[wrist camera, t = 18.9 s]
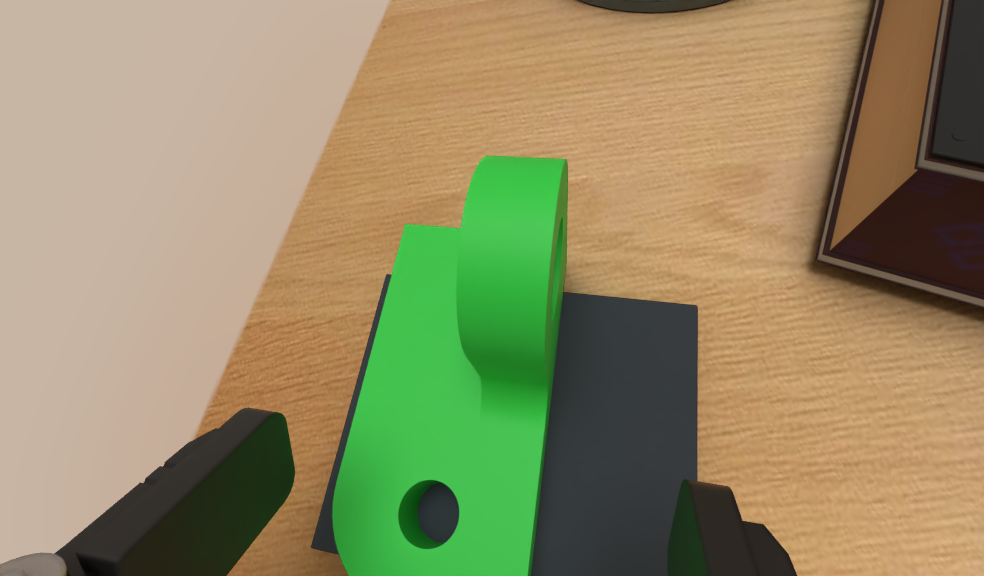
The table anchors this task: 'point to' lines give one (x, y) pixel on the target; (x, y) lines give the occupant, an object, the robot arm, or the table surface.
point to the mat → (594, 440)
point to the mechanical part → (461, 383)
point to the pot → (652, 4)
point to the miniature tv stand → (914, 153)
